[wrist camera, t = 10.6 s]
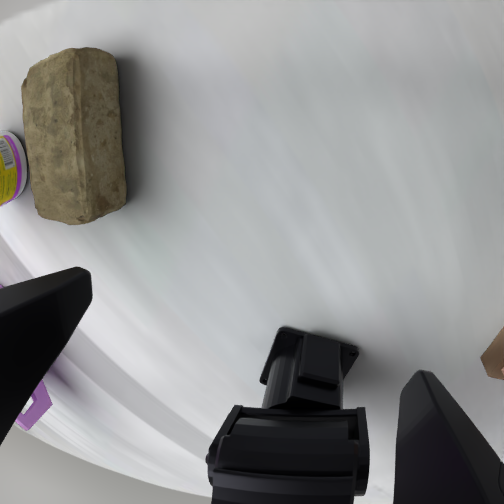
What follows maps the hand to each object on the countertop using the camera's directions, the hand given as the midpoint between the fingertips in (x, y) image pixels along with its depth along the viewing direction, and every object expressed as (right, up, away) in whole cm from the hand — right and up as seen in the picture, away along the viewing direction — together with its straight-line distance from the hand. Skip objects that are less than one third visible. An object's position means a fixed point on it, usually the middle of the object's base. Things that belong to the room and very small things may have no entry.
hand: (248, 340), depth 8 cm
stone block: (-11, +11, +12) cm, 20 cm away
